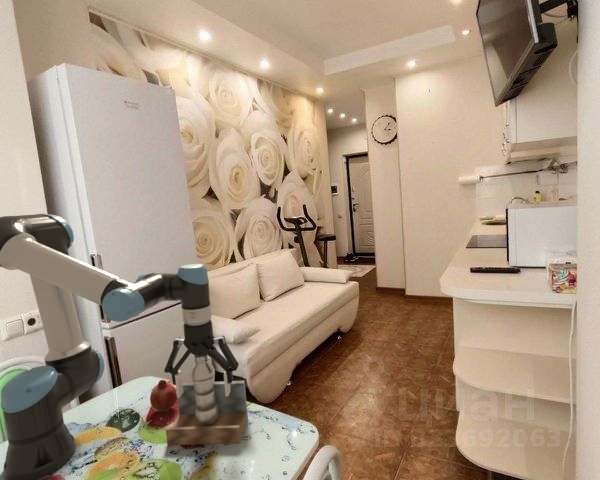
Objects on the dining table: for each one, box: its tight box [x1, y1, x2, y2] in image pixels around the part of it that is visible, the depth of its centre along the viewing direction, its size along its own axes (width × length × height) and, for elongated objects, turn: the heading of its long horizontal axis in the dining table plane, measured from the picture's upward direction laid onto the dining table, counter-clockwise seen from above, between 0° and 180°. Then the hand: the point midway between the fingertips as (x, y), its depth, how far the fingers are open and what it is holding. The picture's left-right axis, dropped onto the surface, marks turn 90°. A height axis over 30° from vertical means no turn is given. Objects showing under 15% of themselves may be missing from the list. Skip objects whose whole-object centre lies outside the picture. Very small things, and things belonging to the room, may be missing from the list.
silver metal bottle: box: [190, 354, 219, 426], centre depth 97 cm, size 6×7×20 cm
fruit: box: [149, 379, 178, 412], centre depth 111 cm, size 8×8×10 cm
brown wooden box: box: [165, 380, 249, 446], centre depth 98 cm, size 20×10×12 cm, turn 87°
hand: (204, 394), depth 98 cm, fingers open, 13 cm apart
